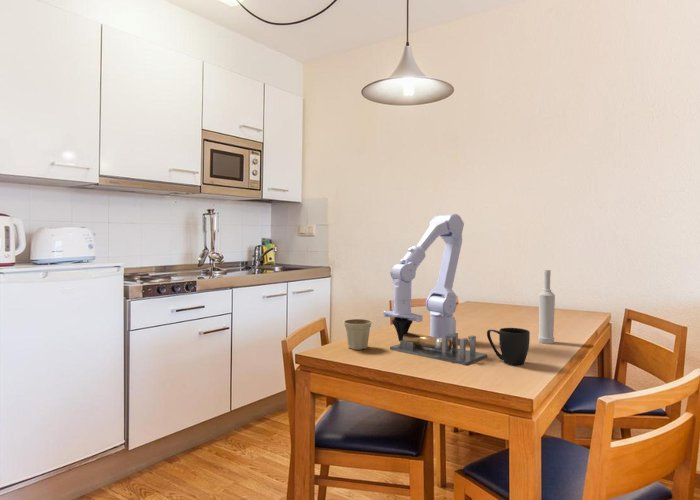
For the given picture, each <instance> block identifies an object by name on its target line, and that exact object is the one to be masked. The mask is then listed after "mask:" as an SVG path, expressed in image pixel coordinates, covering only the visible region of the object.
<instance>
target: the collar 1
mask: <svg viewBox="0 0 700 500" xmlns="http://www.w3.org/2000/svg"><path fill="white" fill-rule="evenodd" d="M452 337H453V339H452V341H451V342H452V351H455V352H456V351H458V349H459V333H458V332H456V333H451V334H448V335H445V336H442V355H447V349H448V339H449V338H452Z"/></svg>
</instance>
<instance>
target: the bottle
mask: <svg viewBox="0 0 700 500" xmlns="http://www.w3.org/2000/svg"><path fill="white" fill-rule="evenodd" d="M543 276H544V277H543V278H544V280H543V289H542V291H541V292H540V293H539V294H538V328H539V329H538V331H539V332H538V337H537V339H538V340H537V341H538V343H541V344H545V345H552V344H554V343H555V337H554V333H555V332H554V330H555V328H554V327H555V325H554V324H555V302H556V294H554V293H553V292H552V289H551V269H544V271H543Z"/></svg>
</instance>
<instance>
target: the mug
mask: <svg viewBox="0 0 700 500" xmlns="http://www.w3.org/2000/svg"><path fill="white" fill-rule="evenodd" d="M491 332H493V333H496V334H498V335H499V337H498V338H499V339H498V340H499V341H498V342H499V348H500V349H499V350H500V352H499V350H498V349H497V347H496V345H495V344H494V342H493V340H492V336H491ZM530 334H531V333H530V330H528V329H524V328H520V327H502V328H500V329H499V330H495V329H487V331H486V336H487V339H488V342H489V343H490V346H491V348H492V349H493V351H494V353H495V355H496V356H497V357H498V359H499V360H501V361H503V363H504V364H505V365H509V366H514V367H516V366H517V367H518V366H519V367H520V366H524V365H525V363H526V359H527V356H528V352H529V347H530V341H531V339H530V338H531V337H530V336H531V335H530Z"/></svg>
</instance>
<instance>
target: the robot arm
mask: <svg viewBox="0 0 700 500" xmlns="http://www.w3.org/2000/svg"><path fill="white" fill-rule="evenodd" d="M464 225H465V222H464V221H463V220H462V217H461V216H460V215H459V214H456V213H454V214H453V213H452V214H436V215H435V216H433V218H432V219H431V220H430V221H429V227H428V228H427V230H426V231H425V232H424V234H423V235H422V237H421V238H420V240H419V242H418V243H417V245H413V246H411V247H409V248H408V249H407V252H406V254H405V255H404V256H403V257H402V258H400V260H399V263H396V264H395V265H393V266H392V268H391V271H390V272H389V273H390V277H391V279H392V281H393V282H392V283H393V310H384V311H383V315H382V316H383V317H384V318H393V319H392V320H391V323H392V324H393V327H394V329H395V331H396V334H397V338H398V342H400V340H403V335H404V333H405V332H409V329H410V327H411V325H413V322H416V323H422V322H423V315H422V314H417V313H413V312H412V281H413V279H415V278H416V273H417V272H416V271H417V269H418V268H419V266H420V265H421V263H422V262H423V261H424V260H425V258H426V251H427V250H428V249H429V248H430V246H431V245H432V244H433V243H434V242H435V240H437V238H439V237H440V238H441V240H443V241H444V244H445V245H444V249H443V253H442V259H441V262H440V263H441V264H440V268H439V273H438V277H437V282H436V285H435V286H434V288H432V289H431V290H430V292H429V295H428V297H427V298H426V301H425V307H426V309H427V311H428V314H429V315H430V317H429V320H430V323H429V336H432V337H437V338H442V336H445V335H448V334H451V333H457V320H456V317H455V316H454V313H455V312H456V310H457V294H456V293H455V291H454V290H453V286H454V282H455V281H454V280H455V276H456V273H457V268H458V263H459V259H460V253H461V249H462V243H463V230H464ZM452 339H453V337H452V338H449V340H451V342H452Z"/></svg>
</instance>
